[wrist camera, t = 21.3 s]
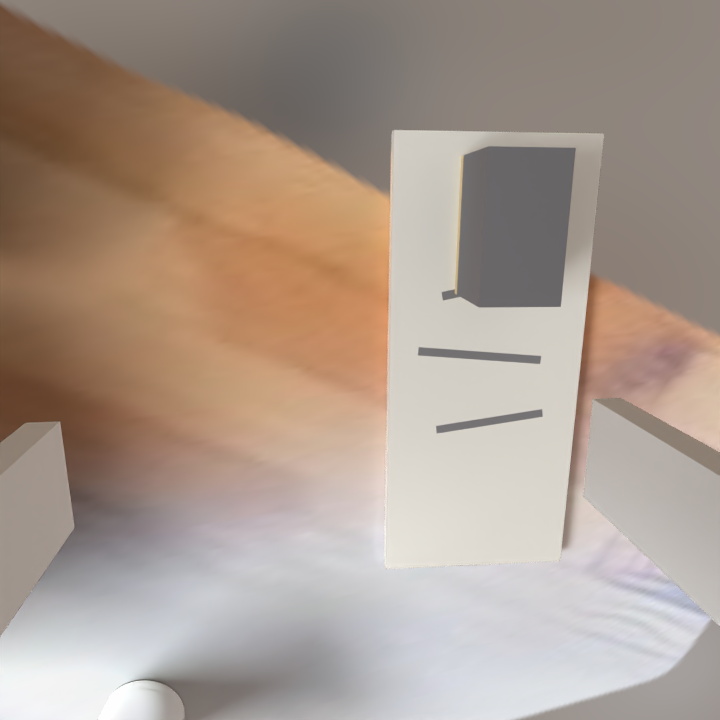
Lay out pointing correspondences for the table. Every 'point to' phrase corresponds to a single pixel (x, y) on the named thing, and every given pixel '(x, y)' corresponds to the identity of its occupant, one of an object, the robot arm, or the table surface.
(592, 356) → the table surface
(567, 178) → the block
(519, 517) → the board
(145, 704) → the metal cup with straw
